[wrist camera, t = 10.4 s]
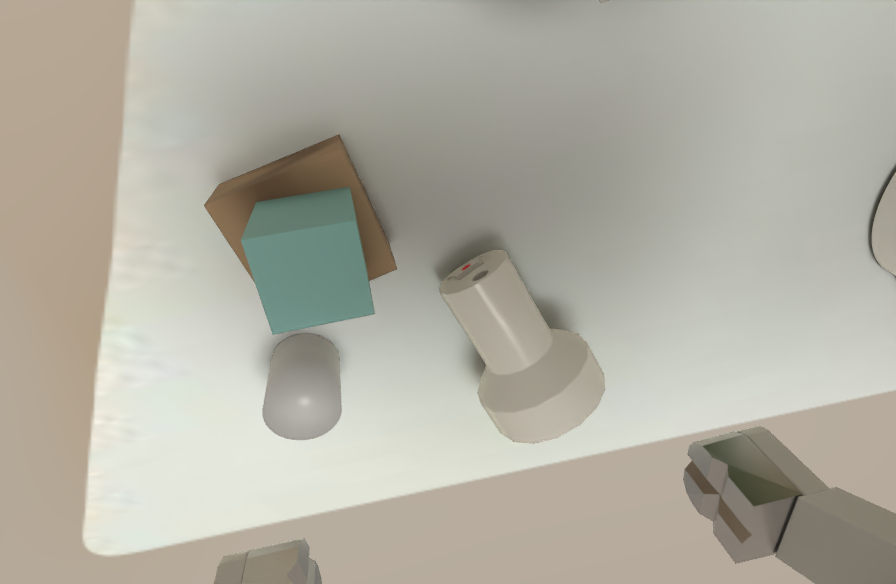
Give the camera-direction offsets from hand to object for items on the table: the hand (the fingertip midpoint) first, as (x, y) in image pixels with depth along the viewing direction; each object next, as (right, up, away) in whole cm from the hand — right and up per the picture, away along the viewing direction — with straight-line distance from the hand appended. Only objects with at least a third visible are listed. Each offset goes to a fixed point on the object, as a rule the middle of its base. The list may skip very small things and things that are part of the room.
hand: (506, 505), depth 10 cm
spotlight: (+3, +2, +25) cm, 25 cm away
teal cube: (-8, +7, +15) cm, 18 cm away
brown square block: (-9, +9, +18) cm, 22 cm away
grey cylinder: (-11, 0, +22) cm, 25 cm away
